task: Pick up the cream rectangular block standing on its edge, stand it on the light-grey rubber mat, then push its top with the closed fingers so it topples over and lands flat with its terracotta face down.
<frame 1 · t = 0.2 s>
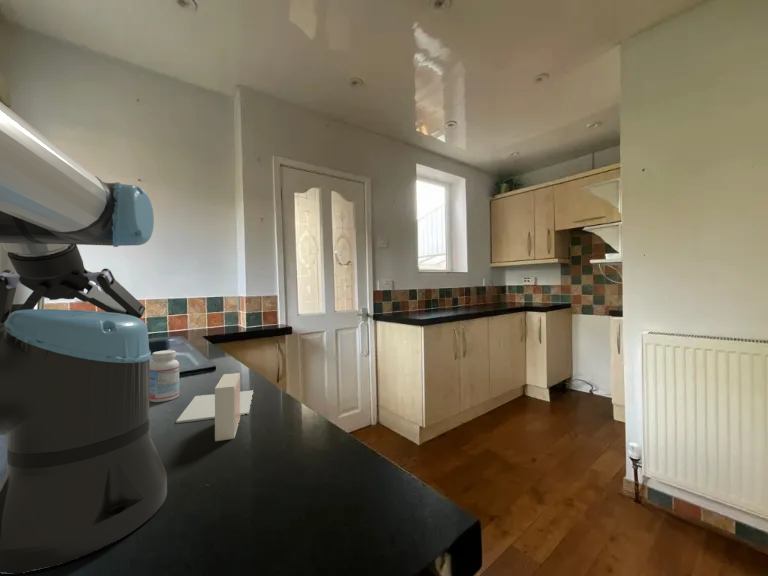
hand: (88, 348, 60), 15 cm above the worktop, tool tilted 35°, fingers open, 13 cm apart
pill bottle: (164, 399, 77), on the worktop
mat: (220, 405, 72), on the worktop
cream rectangular block: (228, 428, 60), on the worktop
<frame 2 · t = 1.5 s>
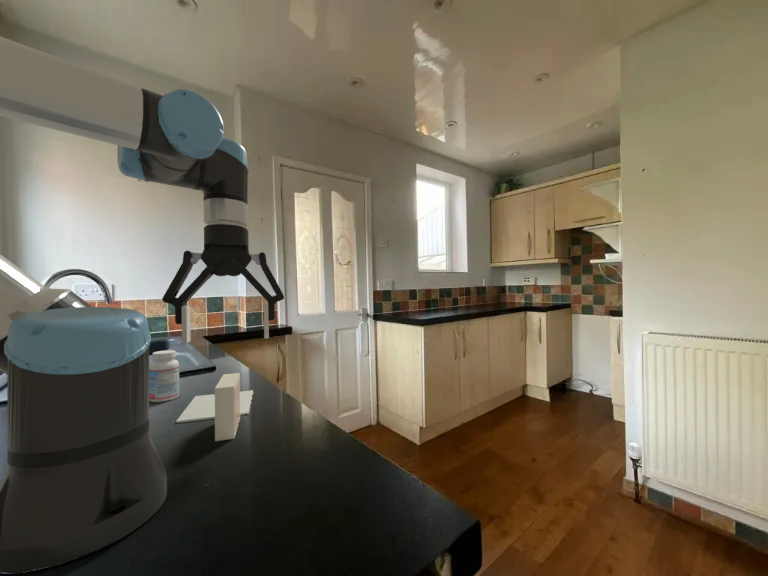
hand: (227, 340, 60), 16 cm above the worktop, tool pointing down, fingers open, 13 cm apart
nothing on the worktop moved.
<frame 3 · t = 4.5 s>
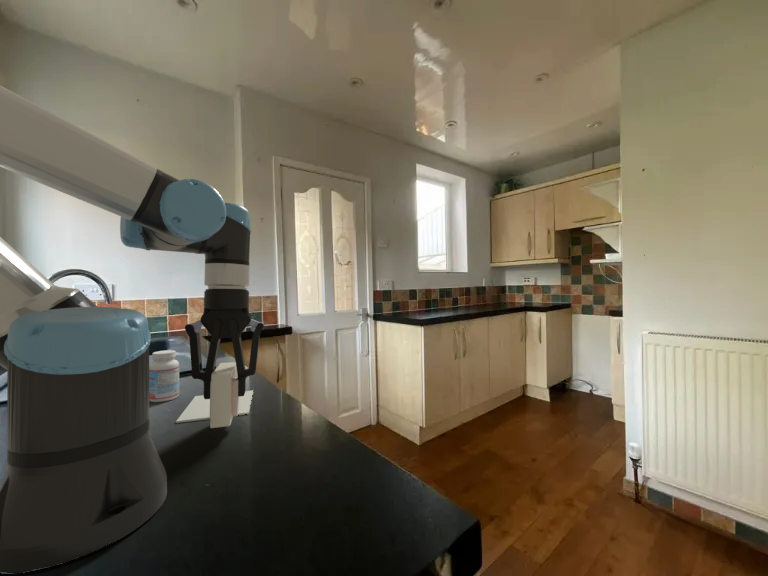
hand: (224, 414, 60), 3 cm above the worktop, tool pointing down, fingers closed on cream rectangular block, 3 cm apart
cream rectangular block: (224, 416, 60), point 2 cm above the worktop, touching gripper
everything else where it was.
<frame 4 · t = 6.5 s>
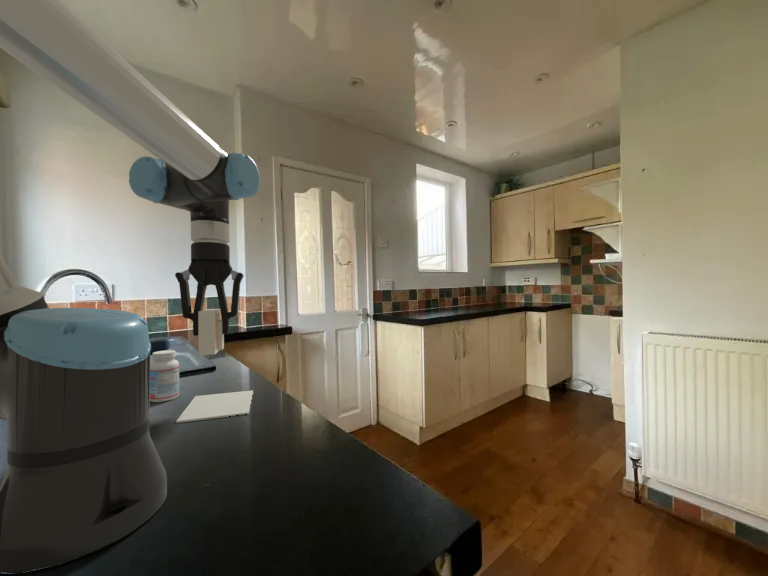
hand: (211, 349, 71), 13 cm above the worktop, tool pointing down, fingers closed on cream rectangular block, 3 cm apart
cream rectangular block: (211, 350, 71), point 12 cm above the worktop, touching gripper
everything else where it was.
when the fingers open (2 cm above the worktop, at t = 8.9 s): cream rectangular block stays where it is, resting on mat.
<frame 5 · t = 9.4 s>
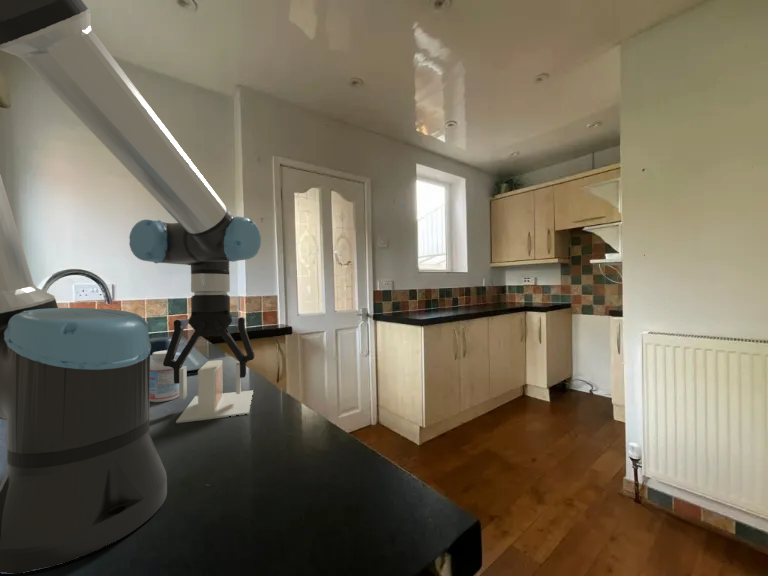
hand: (211, 395, 71), 3 cm above the worktop, tool pointing down, fingers open, 10 cm apart
cream rectangular block: (211, 406, 71), resting on mat
everything else where it was.
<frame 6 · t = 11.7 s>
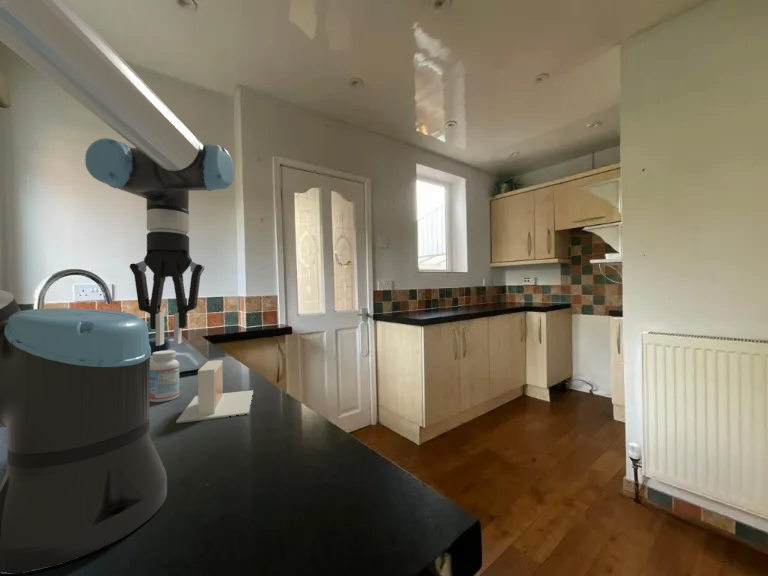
hand: (169, 343, 68), 15 cm above the worktop, tool pointing down, fingers open, 3 cm apart
nothing on the worktop moved.
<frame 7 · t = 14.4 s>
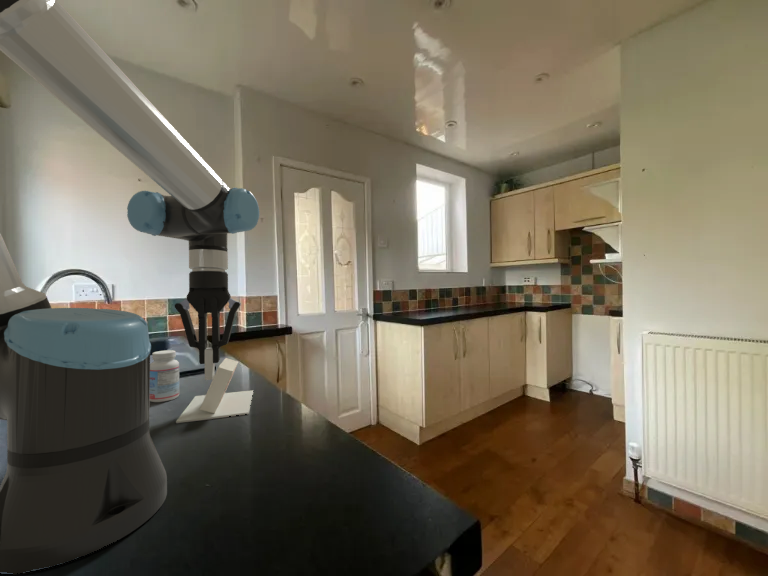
hand: (209, 378, 71), 7 cm above the worktop, tool pointing down, fingers closed
cream rectangular block: (211, 403, 71), point 1 cm above the worktop, tilted 23°, touching mat
everything else where it was.
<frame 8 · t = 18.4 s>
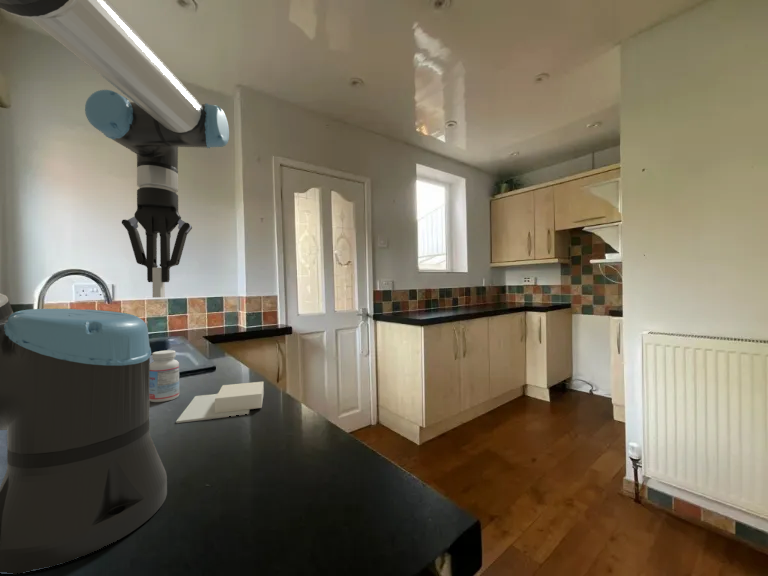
hand: (158, 297, 71), 24 cm above the worktop, tool pointing down, fingers closed
cream rectangular block: (219, 398, 71), point 2 cm above the worktop, tilted 90°, touching mat
everything else where it was.
at the end: cream rectangular block tilted 90°; cream rectangular block inside the target area (1.5 cm from its centre), point 1.9 cm above the worktop; the gripper is holding nothing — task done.
